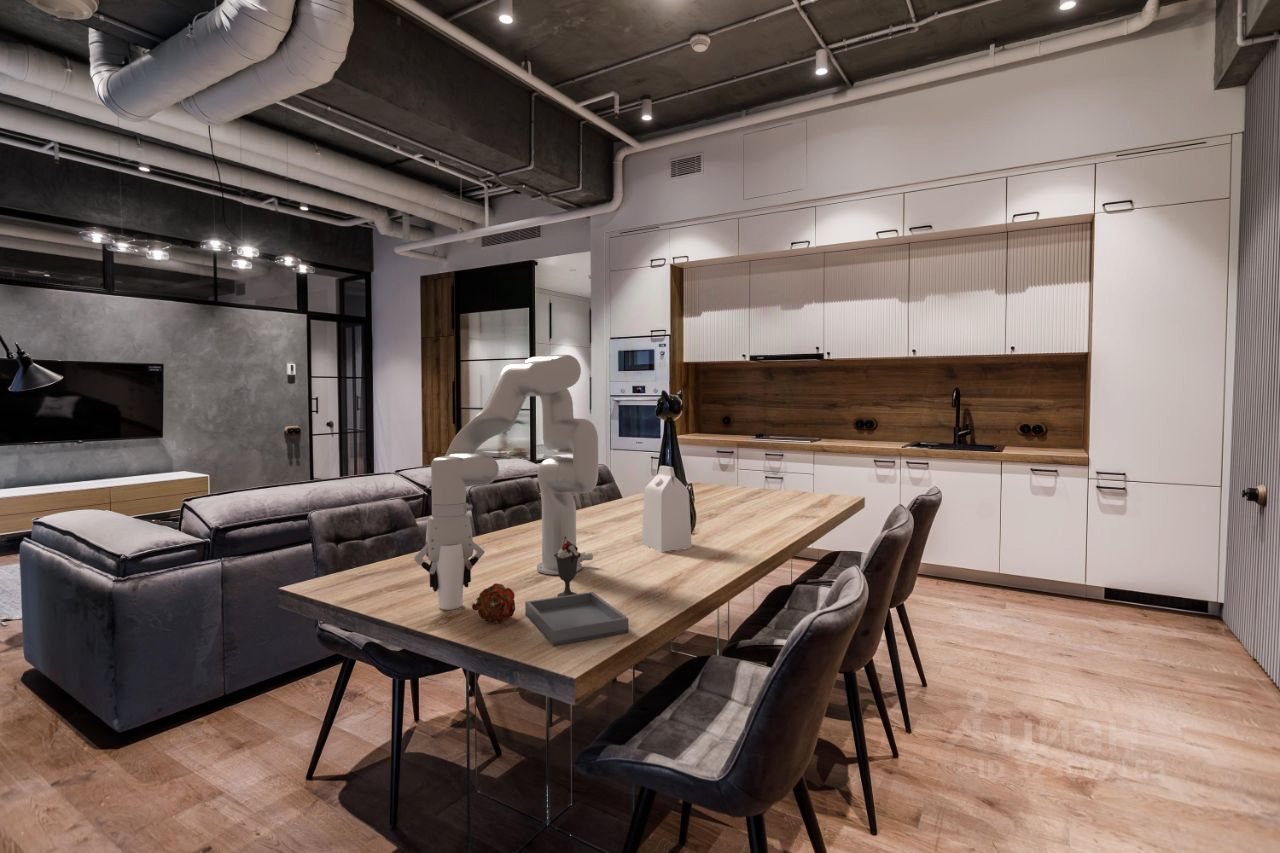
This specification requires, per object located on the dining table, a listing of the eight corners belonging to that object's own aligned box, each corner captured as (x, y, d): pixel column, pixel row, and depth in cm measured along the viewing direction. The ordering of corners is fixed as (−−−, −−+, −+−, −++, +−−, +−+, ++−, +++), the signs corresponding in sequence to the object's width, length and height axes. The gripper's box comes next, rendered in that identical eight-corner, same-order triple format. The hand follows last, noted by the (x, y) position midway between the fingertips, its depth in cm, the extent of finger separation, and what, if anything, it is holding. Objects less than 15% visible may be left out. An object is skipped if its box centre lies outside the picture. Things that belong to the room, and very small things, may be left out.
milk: (691, 548, 205) (691, 467, 204) (661, 552, 199) (661, 469, 198) (671, 541, 215) (671, 464, 214) (641, 545, 210) (641, 466, 208)
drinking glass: (457, 612, 144) (455, 546, 143) (429, 610, 145) (428, 545, 144) (471, 603, 150) (469, 540, 150) (444, 601, 152) (443, 538, 151)
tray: (592, 604, 149) (592, 591, 149) (628, 632, 131) (628, 618, 131) (525, 614, 142) (525, 601, 142) (553, 646, 124) (553, 630, 124)
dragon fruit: (501, 637, 133) (486, 628, 143) (531, 608, 136) (514, 600, 147) (475, 608, 131) (462, 600, 142) (506, 578, 135) (491, 573, 145)
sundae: (559, 601, 151) (558, 538, 151) (550, 594, 157) (549, 533, 157) (585, 597, 154) (584, 535, 154) (575, 590, 160) (574, 530, 160)
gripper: (483, 505, 154) (484, 579, 155) (407, 510, 146) (409, 588, 147) (490, 510, 147) (491, 587, 148) (411, 516, 140) (412, 597, 140)
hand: (450, 587), depth 147 cm, fingers closed on drinking glass, 6 cm apart
